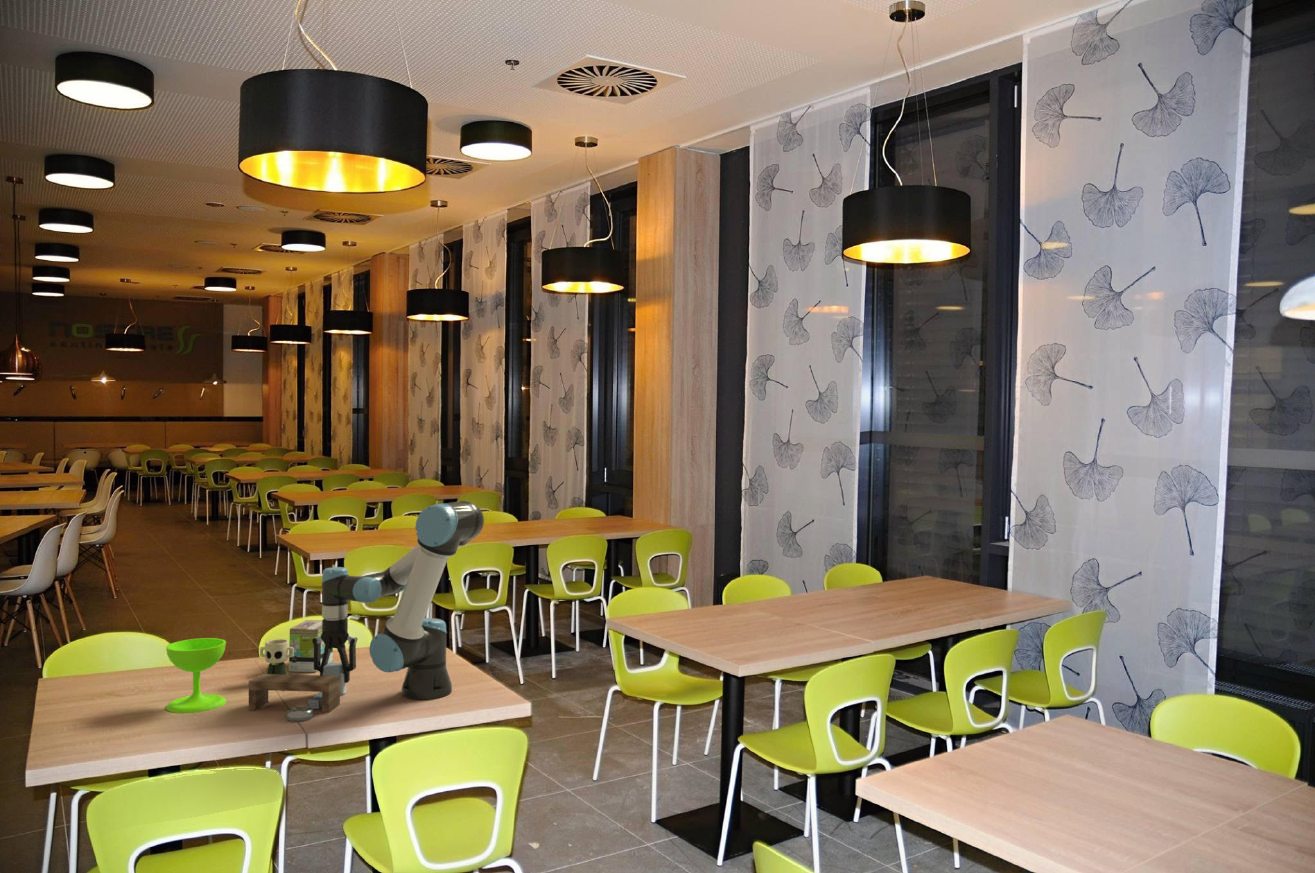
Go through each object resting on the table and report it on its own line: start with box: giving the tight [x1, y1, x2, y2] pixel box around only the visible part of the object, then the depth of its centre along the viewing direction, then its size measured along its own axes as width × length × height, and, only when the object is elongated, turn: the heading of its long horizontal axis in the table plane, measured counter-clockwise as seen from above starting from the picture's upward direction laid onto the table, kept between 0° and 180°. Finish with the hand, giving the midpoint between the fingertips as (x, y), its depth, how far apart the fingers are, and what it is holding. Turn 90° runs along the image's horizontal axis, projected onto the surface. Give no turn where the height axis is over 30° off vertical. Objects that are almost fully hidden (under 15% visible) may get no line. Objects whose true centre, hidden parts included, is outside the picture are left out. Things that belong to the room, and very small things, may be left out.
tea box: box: [288, 619, 334, 673], centre depth 324 cm, size 15×10×15 cm
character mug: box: [259, 638, 294, 675], centre depth 305 cm, size 11×7×13 cm, turn 90°
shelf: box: [248, 673, 341, 713], centre depth 278 cm, size 24×8×8 cm, turn 86°
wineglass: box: [165, 637, 227, 714], centre depth 280 cm, size 16×16×18 cm
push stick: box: [308, 662, 343, 710], centre depth 285 cm, size 18×5×9 cm, turn 178°
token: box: [286, 706, 314, 723], centre depth 268 cm, size 7×7×2 cm
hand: (334, 692), depth 292 cm, fingers closed on push stick, 5 cm apart
